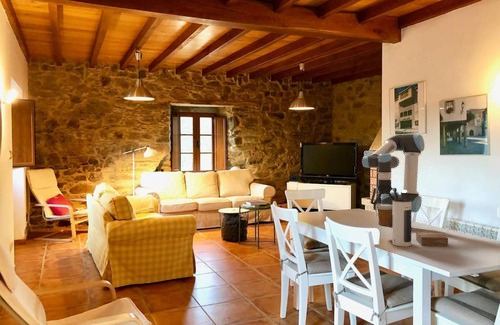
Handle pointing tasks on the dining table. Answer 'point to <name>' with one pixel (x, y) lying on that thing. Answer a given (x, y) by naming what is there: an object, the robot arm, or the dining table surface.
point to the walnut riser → (431, 239)
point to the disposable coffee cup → (384, 213)
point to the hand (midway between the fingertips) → (384, 215)
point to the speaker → (402, 222)
